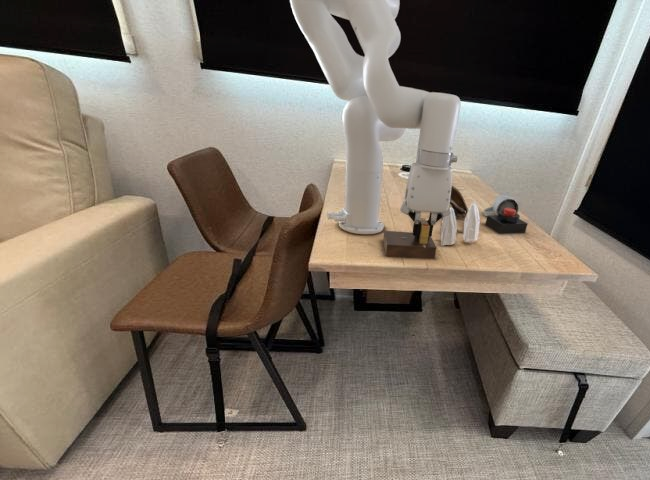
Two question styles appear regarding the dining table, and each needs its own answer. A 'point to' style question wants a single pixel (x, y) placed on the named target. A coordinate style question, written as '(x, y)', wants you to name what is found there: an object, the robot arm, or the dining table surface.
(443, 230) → the shaker set
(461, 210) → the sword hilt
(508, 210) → the bell button
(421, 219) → the lock knob
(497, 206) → the ceramic mug
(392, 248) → the plate
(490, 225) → the bell block
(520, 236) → the dining table surface
